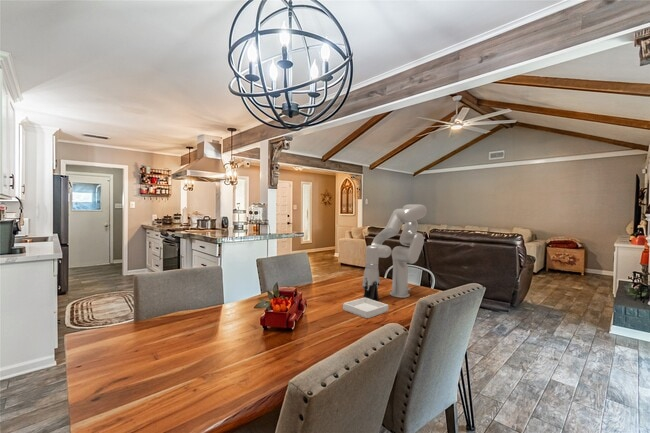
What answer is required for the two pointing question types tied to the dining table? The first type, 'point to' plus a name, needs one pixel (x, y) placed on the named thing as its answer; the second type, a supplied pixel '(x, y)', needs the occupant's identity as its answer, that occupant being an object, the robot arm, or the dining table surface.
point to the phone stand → (373, 292)
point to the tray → (365, 307)
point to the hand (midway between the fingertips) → (371, 295)
